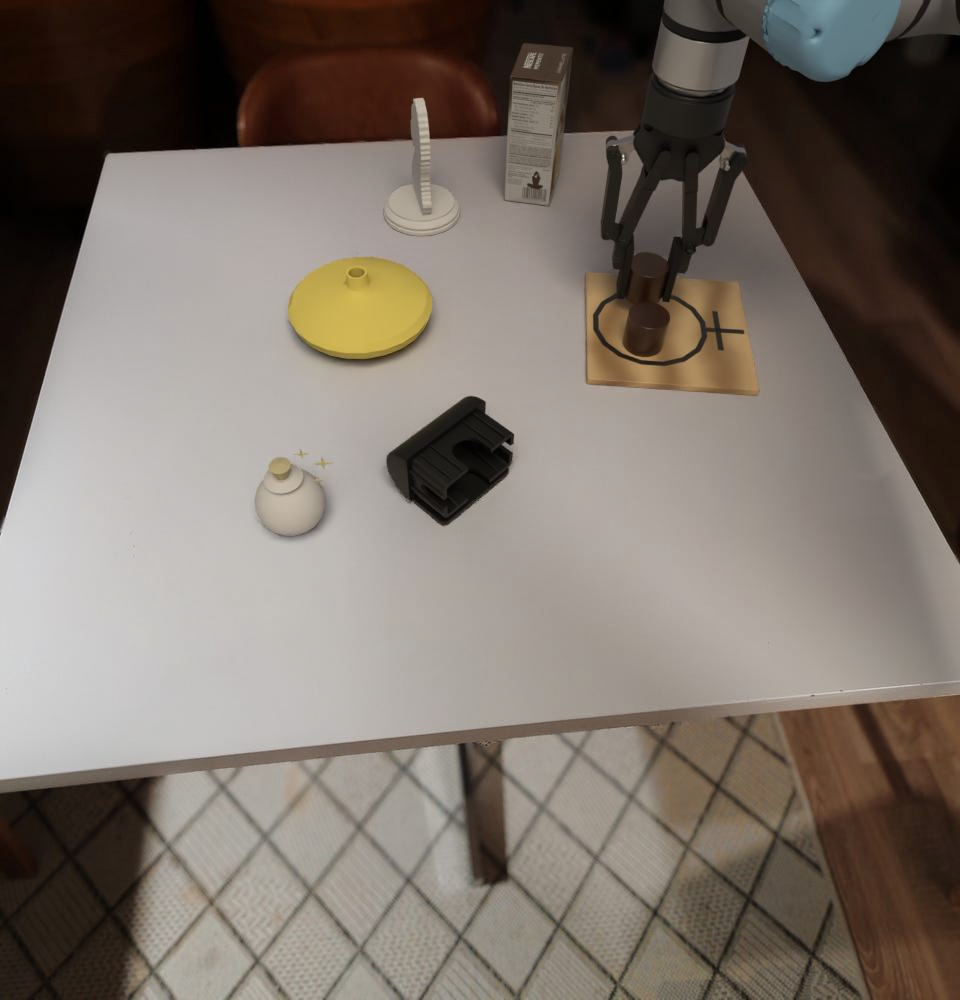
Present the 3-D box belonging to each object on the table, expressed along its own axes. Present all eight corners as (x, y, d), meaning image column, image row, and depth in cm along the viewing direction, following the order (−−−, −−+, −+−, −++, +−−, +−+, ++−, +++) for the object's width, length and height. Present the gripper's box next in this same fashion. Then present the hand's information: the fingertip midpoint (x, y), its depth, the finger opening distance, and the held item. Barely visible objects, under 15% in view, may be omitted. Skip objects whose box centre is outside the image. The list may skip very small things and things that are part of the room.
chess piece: (451, 188, 103) (450, 71, 91) (467, 231, 97) (468, 112, 85) (378, 196, 101) (367, 78, 89) (390, 240, 96) (380, 121, 84)
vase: (461, 316, 88) (461, 264, 82) (370, 395, 80) (363, 344, 74) (357, 263, 93) (350, 211, 87) (262, 333, 85) (248, 281, 79)
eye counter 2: (661, 331, 85) (669, 302, 82) (663, 358, 83) (672, 330, 80) (621, 328, 86) (627, 300, 82) (622, 356, 83) (629, 327, 80)
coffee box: (514, 164, 107) (522, 40, 94) (560, 170, 106) (574, 46, 93) (502, 201, 101) (509, 74, 88) (550, 207, 101) (564, 81, 88)
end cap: (461, 431, 77) (461, 383, 72) (514, 470, 74) (518, 422, 69) (388, 488, 73) (382, 441, 67) (440, 531, 70) (439, 486, 64)
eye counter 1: (660, 283, 88) (668, 253, 84) (663, 308, 85) (671, 278, 82) (621, 280, 88) (627, 250, 84) (623, 305, 85) (629, 275, 82)
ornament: (265, 496, 72) (240, 424, 64) (345, 491, 72) (331, 419, 64) (260, 551, 68) (233, 482, 60) (344, 545, 69) (329, 476, 61)
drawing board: (736, 287, 92) (738, 280, 91) (757, 395, 81) (760, 389, 80) (585, 277, 92) (586, 271, 91) (586, 384, 81) (587, 378, 81)
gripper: (786, 62, 69) (716, 276, 88) (593, 51, 70) (565, 266, 89) (801, 103, 65) (724, 319, 84) (595, 91, 65) (564, 309, 84)
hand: (642, 292), depth 86 cm, fingers closed on eye counter 1, 4 cm apart
